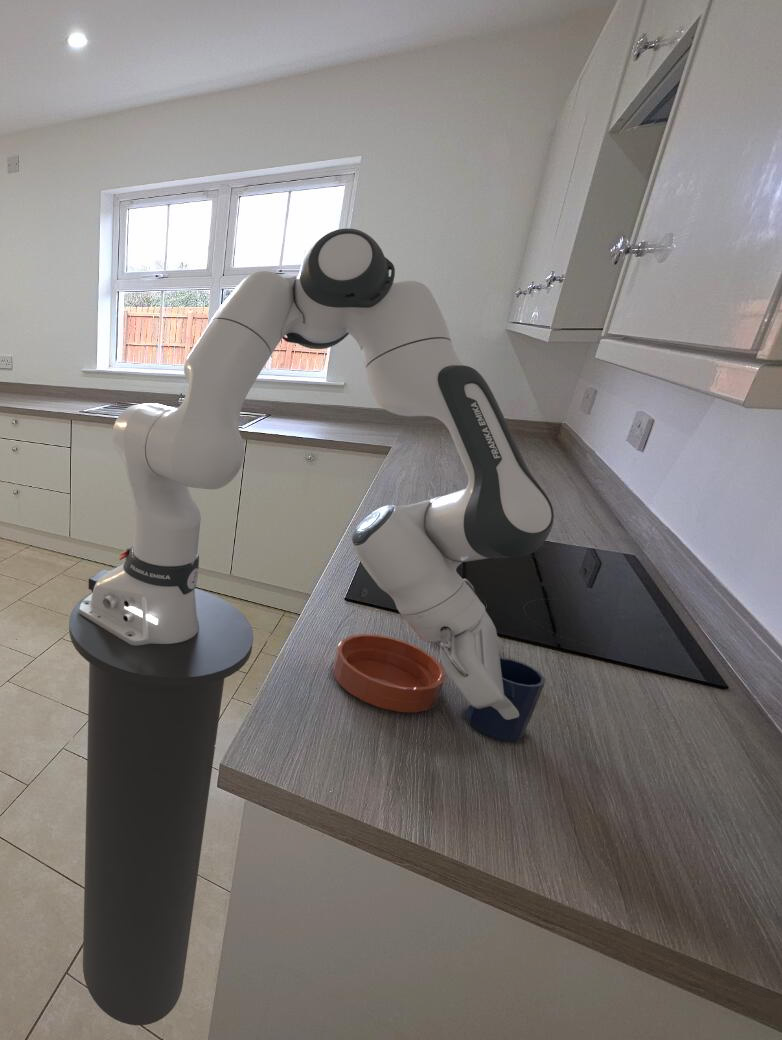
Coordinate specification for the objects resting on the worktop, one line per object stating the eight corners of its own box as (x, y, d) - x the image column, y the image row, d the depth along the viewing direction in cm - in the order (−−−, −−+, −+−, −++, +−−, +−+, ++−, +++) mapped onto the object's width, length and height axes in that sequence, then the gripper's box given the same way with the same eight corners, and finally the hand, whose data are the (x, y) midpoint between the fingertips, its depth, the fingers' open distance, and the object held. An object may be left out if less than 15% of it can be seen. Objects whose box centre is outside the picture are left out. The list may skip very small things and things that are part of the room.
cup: (463, 727, 78) (482, 673, 74) (469, 703, 82) (487, 651, 79) (521, 748, 74) (544, 693, 70) (524, 723, 78) (545, 669, 75)
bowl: (320, 688, 85) (325, 663, 84) (346, 647, 96) (352, 624, 94) (427, 730, 77) (436, 703, 75) (444, 680, 87) (452, 656, 85)
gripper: (469, 639, 67) (546, 734, 66) (466, 574, 83) (528, 650, 82) (417, 659, 71) (488, 749, 70) (424, 593, 87) (482, 666, 86)
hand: (510, 695), depth 76 cm, fingers open, 8 cm apart
